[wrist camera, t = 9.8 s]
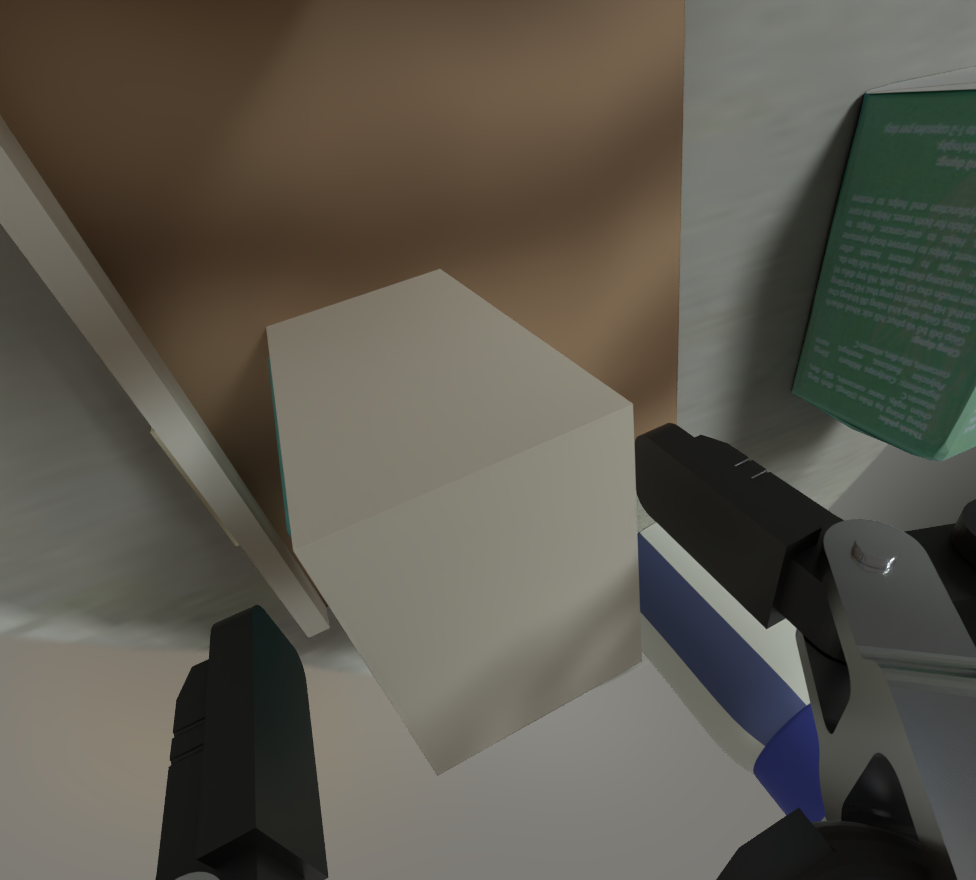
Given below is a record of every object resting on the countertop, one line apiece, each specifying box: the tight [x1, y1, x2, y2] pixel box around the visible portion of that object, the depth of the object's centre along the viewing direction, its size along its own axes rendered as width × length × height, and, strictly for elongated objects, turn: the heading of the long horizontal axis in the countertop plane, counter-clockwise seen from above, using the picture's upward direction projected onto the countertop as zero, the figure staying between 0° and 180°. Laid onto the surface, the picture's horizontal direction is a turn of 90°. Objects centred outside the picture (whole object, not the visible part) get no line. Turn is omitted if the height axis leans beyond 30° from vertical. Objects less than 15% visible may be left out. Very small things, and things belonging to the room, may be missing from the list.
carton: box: [266, 269, 642, 776], centre depth 12 cm, size 7×5×9 cm
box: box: [791, 66, 976, 461], centre depth 21 cm, size 7×14×8 cm, turn 9°
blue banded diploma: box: [637, 522, 827, 822], centre depth 19 cm, size 8×9×25 cm
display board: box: [0, 0, 685, 638], centre depth 14 cm, size 24×17×2 cm
